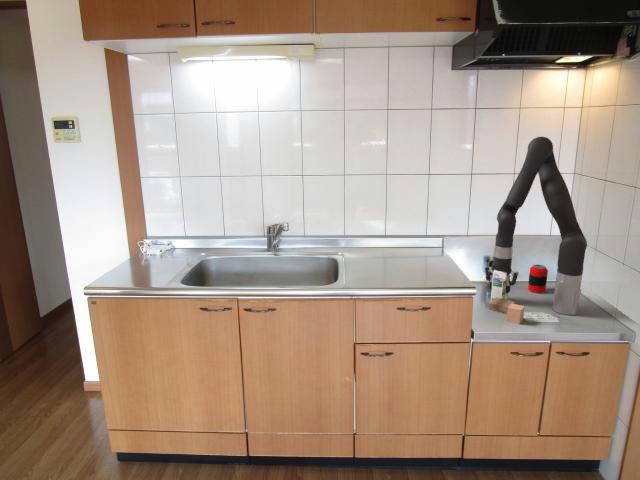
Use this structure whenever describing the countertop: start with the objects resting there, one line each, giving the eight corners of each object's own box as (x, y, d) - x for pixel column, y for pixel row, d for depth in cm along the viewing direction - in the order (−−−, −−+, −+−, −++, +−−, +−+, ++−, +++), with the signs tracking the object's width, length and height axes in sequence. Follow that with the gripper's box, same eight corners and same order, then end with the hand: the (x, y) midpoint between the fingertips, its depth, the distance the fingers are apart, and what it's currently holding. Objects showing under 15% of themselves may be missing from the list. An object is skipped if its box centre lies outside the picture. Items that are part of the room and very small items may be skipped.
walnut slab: (514, 308, 194) (514, 301, 193) (508, 314, 188) (508, 307, 187) (495, 303, 199) (496, 297, 198) (488, 309, 193) (489, 303, 192)
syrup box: (490, 301, 201) (492, 270, 197) (494, 297, 205) (496, 267, 202) (503, 304, 198) (506, 273, 194) (507, 299, 202) (510, 269, 198)
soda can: (542, 287, 215) (544, 264, 212) (547, 293, 208) (550, 269, 205) (525, 287, 216) (528, 263, 213) (530, 293, 209) (533, 269, 206)
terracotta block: (523, 319, 183) (524, 306, 181) (519, 324, 179) (520, 310, 177) (510, 316, 186) (511, 303, 184) (506, 320, 182) (507, 307, 180)
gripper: (522, 256, 194) (518, 292, 199) (489, 250, 203) (486, 285, 208) (517, 260, 189) (513, 297, 193) (483, 254, 198) (480, 290, 202)
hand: (499, 291), depth 200 cm, fingers closed on syrup box, 6 cm apart
